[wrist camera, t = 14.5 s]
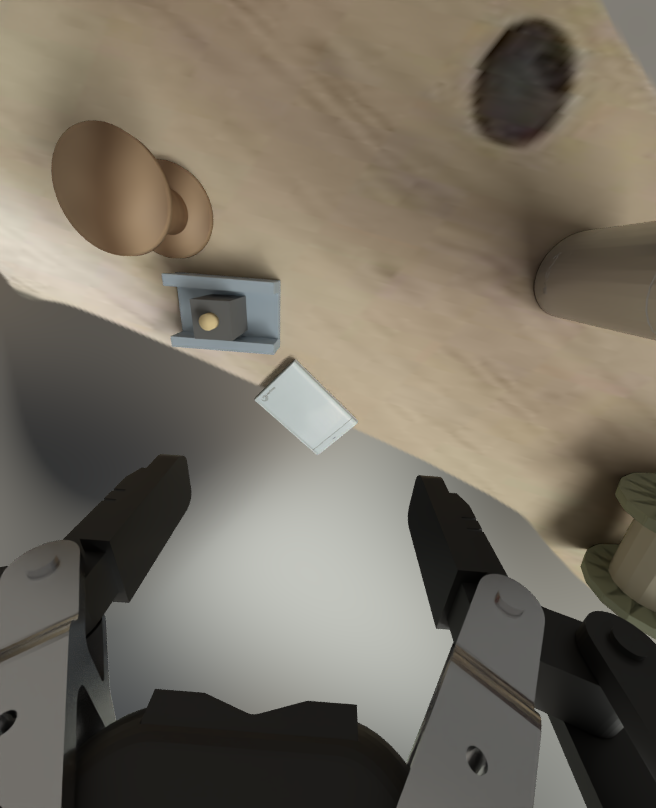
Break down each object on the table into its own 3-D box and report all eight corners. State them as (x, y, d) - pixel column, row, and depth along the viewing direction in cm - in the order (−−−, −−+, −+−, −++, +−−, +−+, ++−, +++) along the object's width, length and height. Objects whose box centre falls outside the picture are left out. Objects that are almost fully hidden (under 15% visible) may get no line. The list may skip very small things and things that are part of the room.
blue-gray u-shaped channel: (280, 280, 36) (273, 282, 32) (279, 346, 39) (273, 355, 36) (179, 272, 36) (161, 273, 32) (187, 339, 39) (172, 346, 36)
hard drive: (253, 400, 41) (316, 456, 45) (294, 361, 39) (358, 423, 42) (256, 395, 43) (317, 450, 46) (295, 357, 40) (357, 418, 44)
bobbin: (209, 166, 31) (156, 125, 22) (216, 261, 35) (173, 259, 26) (123, 159, 31) (35, 115, 22) (139, 255, 35) (69, 251, 26)
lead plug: (245, 295, 36) (225, 302, 29) (247, 330, 37) (228, 343, 31) (212, 293, 36) (183, 300, 29) (215, 328, 37) (189, 341, 31)
